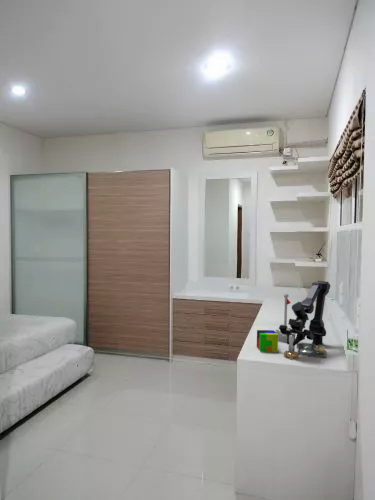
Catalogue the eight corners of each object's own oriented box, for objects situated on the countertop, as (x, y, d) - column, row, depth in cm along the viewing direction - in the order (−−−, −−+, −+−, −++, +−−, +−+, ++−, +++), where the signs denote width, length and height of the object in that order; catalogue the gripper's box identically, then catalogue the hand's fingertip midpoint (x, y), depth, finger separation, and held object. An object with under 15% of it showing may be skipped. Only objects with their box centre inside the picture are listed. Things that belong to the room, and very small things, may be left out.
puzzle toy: (273, 346, 227) (273, 330, 226) (277, 351, 217) (278, 334, 216) (256, 346, 226) (257, 330, 226) (260, 351, 216) (260, 334, 216)
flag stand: (270, 337, 246) (271, 292, 245) (287, 336, 250) (288, 291, 249) (282, 343, 234) (283, 295, 232) (299, 341, 238) (301, 294, 237)
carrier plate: (297, 348, 224) (297, 339, 223) (326, 352, 218) (326, 342, 217) (294, 354, 213) (295, 344, 212) (325, 358, 206) (325, 348, 206)
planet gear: (285, 354, 212) (286, 333, 212) (298, 355, 210) (299, 334, 209) (283, 358, 205) (284, 336, 205) (297, 360, 203) (298, 338, 202)
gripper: (280, 310, 216) (270, 333, 208) (312, 315, 203) (302, 340, 195) (287, 322, 222) (277, 344, 214) (317, 327, 209) (308, 351, 202)
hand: (290, 344), depth 206 cm, fingers closed on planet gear, 3 cm apart
